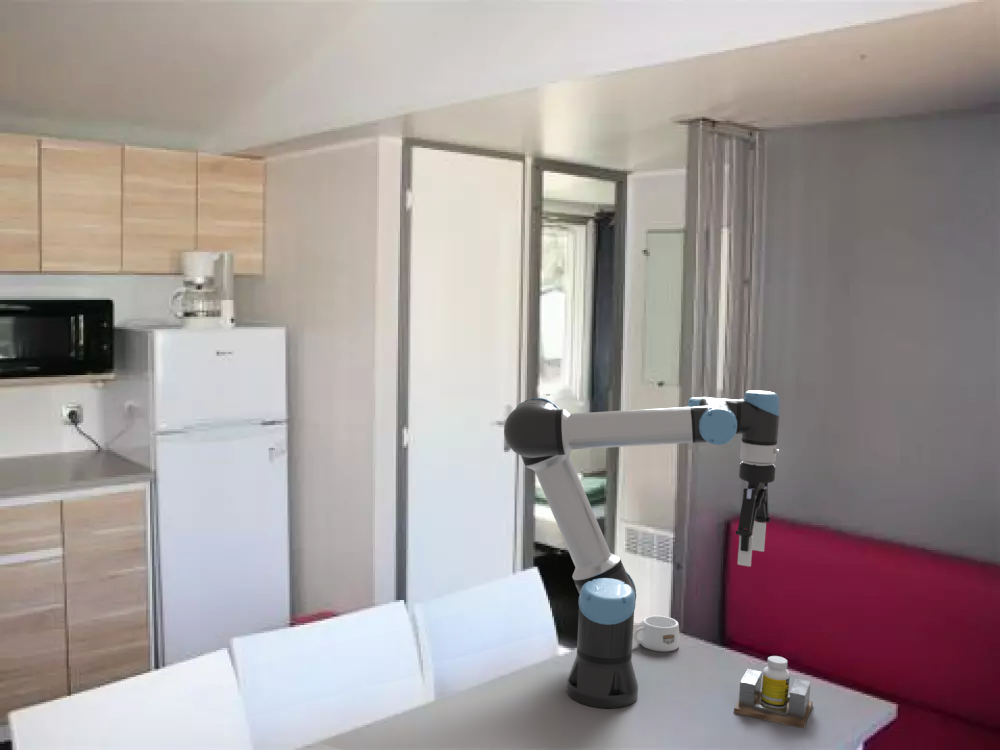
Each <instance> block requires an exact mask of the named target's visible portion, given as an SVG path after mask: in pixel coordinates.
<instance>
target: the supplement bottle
mask: <svg viewBox="0 0 1000 750" xmlns="http://www.w3.org/2000/svg"><path fill="white" fill-rule="evenodd" d="M766 662H767V665H766V666H765V667H764V668H763V671H762V679H761V690H762V691H761V703H762V704H763V705H764V706H767V707H772V708H776V709H784V708H786V707H787V702H788V695H789V692H790V677H791V675H790V672H789V670H788V663H789V662H788V660H787V659H786V658H784V657H782V656H780V655H779V656H778V655H771V656H768V657H767V661H766Z"/></svg>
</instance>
